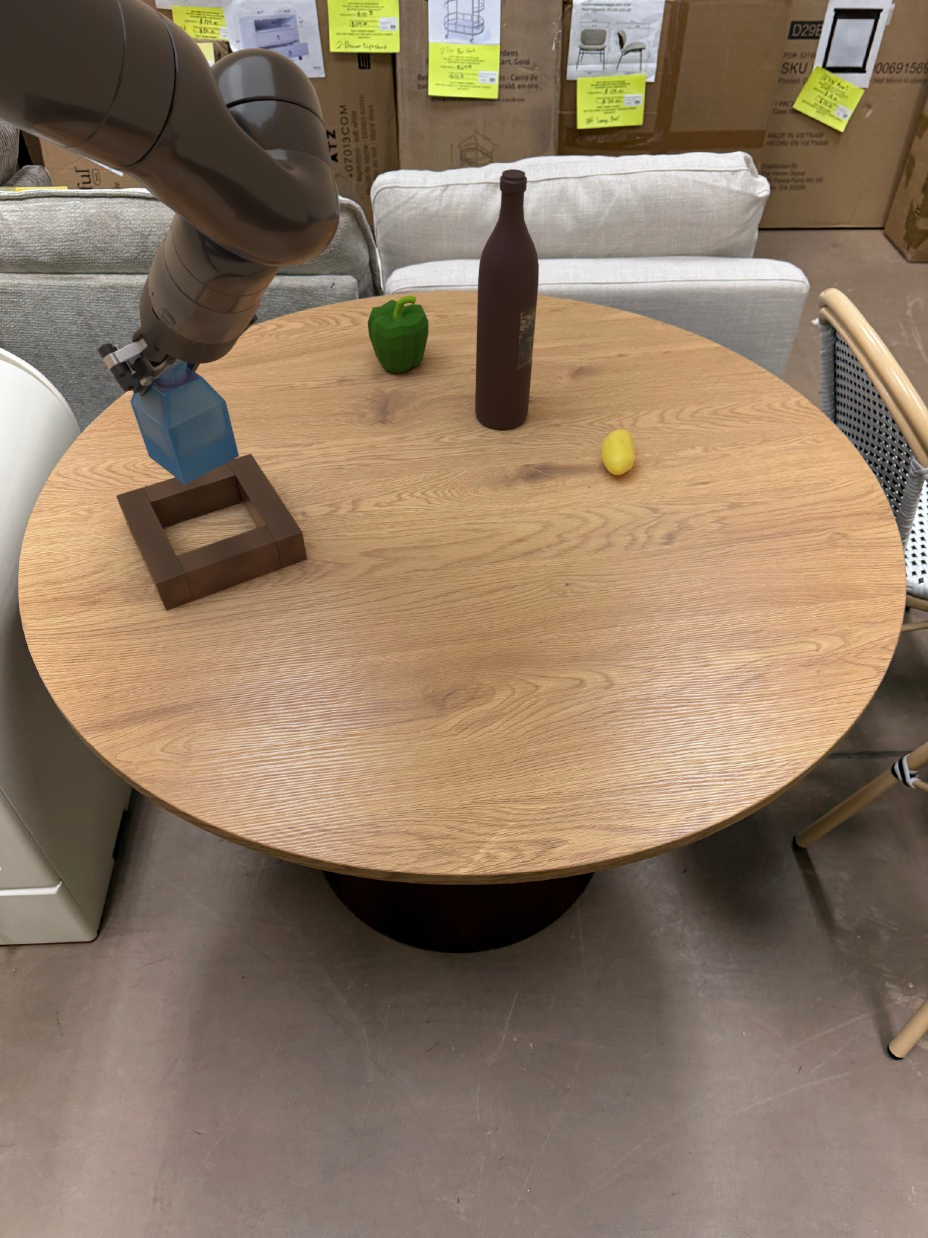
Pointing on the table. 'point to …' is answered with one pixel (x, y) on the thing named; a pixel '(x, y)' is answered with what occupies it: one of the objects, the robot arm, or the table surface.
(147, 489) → the holder
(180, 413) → the perfume bottle
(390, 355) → the bell pepper
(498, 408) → the wine bottle
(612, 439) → the lemon
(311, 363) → the table surface
